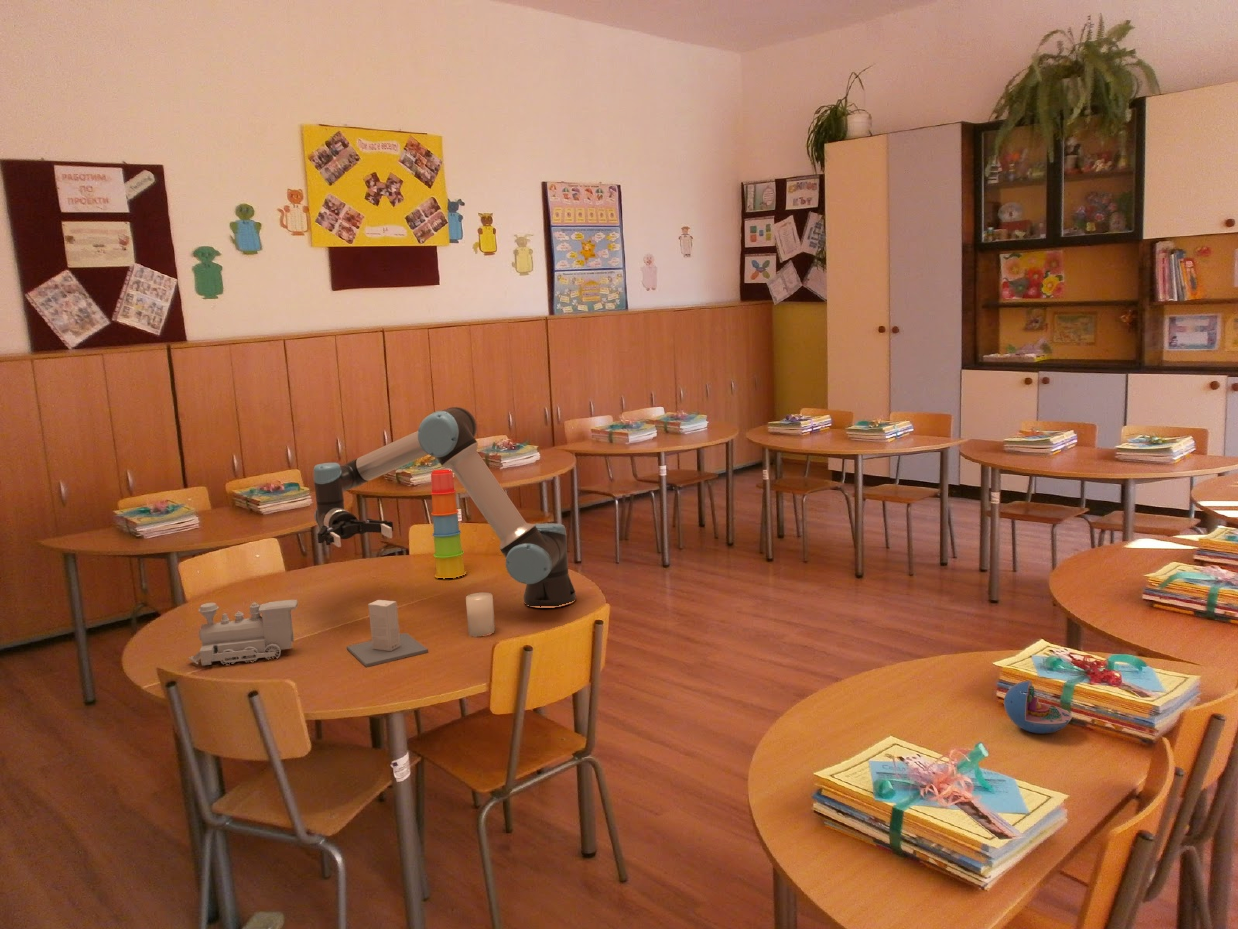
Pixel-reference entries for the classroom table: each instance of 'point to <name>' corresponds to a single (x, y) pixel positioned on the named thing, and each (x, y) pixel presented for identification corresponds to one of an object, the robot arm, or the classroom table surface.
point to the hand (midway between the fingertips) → (365, 537)
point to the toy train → (246, 633)
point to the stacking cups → (446, 526)
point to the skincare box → (384, 625)
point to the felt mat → (376, 656)
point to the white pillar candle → (480, 614)
